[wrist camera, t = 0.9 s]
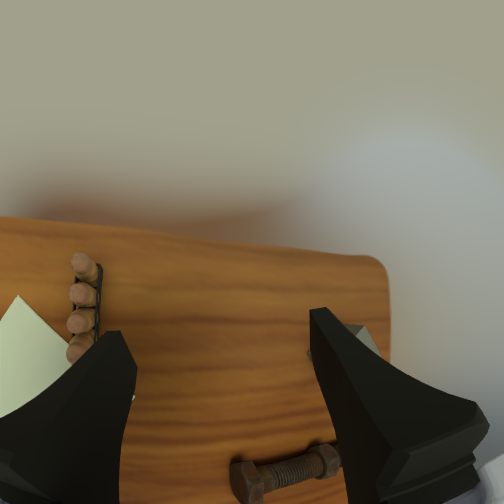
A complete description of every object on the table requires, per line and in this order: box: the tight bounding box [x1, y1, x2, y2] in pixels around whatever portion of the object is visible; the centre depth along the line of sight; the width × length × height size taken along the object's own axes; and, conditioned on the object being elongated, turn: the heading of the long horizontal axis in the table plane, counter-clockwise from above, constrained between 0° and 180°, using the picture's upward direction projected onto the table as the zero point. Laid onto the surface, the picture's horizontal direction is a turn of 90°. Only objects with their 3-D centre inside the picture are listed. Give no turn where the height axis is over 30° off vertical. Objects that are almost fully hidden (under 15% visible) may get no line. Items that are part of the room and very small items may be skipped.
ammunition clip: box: [66, 253, 103, 366], centre depth 19 cm, size 11×2×12 cm, turn 177°
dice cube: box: [307, 324, 382, 362], centre depth 32 cm, size 5×5×5 cm
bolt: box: [230, 443, 342, 504], centre depth 28 cm, size 6×5×15 cm
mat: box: [0, 295, 135, 418], centre depth 21 cm, size 12×14×1 cm
